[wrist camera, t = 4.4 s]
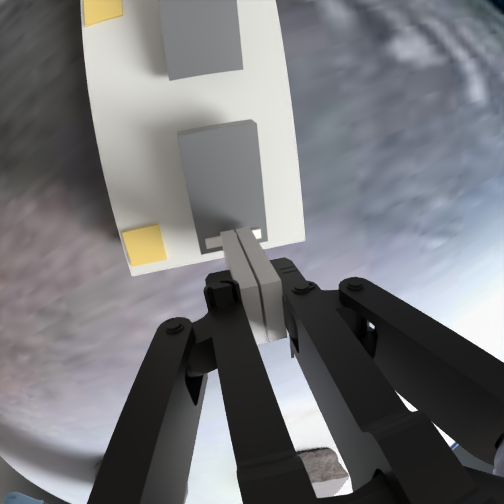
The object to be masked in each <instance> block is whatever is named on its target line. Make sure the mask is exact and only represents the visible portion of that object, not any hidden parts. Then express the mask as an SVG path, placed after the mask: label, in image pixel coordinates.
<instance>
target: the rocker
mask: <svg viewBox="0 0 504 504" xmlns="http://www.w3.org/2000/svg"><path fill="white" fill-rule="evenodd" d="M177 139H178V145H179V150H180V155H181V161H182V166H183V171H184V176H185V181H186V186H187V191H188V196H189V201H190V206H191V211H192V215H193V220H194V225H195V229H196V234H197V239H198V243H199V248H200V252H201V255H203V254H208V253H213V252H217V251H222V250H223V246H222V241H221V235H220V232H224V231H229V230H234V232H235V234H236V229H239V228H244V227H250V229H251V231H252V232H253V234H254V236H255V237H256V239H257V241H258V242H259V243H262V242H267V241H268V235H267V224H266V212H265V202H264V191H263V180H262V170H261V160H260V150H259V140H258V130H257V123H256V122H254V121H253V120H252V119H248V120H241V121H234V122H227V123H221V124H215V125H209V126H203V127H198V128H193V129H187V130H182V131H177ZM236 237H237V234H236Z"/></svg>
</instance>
